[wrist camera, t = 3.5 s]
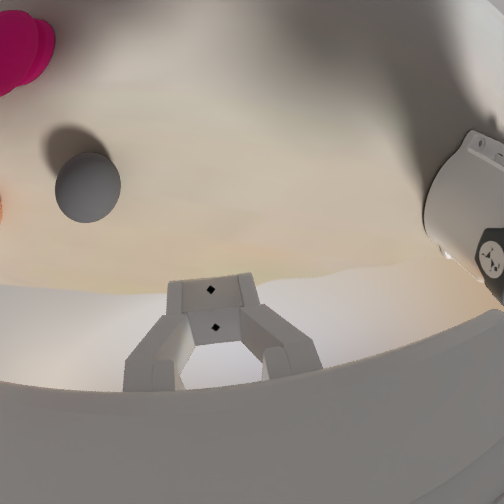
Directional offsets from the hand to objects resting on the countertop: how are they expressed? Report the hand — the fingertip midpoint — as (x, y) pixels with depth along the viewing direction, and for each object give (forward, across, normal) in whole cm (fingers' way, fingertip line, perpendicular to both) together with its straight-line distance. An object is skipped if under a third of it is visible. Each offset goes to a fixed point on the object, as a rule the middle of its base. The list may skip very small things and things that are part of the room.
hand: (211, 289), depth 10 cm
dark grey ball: (+13, -9, 0) cm, 16 cm away
